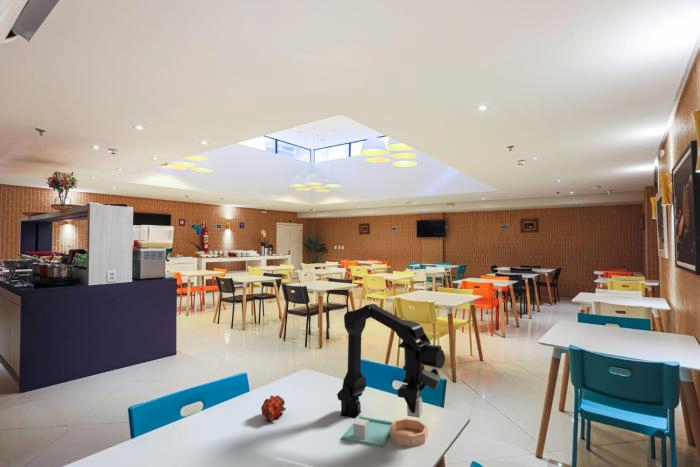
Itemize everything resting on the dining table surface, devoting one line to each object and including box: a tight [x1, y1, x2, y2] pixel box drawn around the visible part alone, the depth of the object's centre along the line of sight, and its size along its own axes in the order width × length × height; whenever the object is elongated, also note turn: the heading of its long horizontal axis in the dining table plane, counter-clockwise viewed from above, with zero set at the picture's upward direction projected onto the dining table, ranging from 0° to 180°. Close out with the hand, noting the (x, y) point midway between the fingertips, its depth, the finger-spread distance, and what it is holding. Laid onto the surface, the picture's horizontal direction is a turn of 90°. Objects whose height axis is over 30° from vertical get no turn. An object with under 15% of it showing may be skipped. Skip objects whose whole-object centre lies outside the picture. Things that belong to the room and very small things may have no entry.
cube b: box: [406, 396, 423, 419], centre depth 122 cm, size 4×4×5 cm
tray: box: [341, 415, 393, 448], centre depth 126 cm, size 14×16×1 cm
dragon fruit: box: [260, 395, 287, 423], centre depth 139 cm, size 8×8×12 cm
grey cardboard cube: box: [352, 418, 369, 440], centre depth 123 cm, size 4×4×5 cm
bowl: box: [389, 417, 429, 448], centre depth 122 cm, size 12×12×4 cm
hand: (414, 410), depth 122 cm, fingers closed on cube b, 4 cm apart
